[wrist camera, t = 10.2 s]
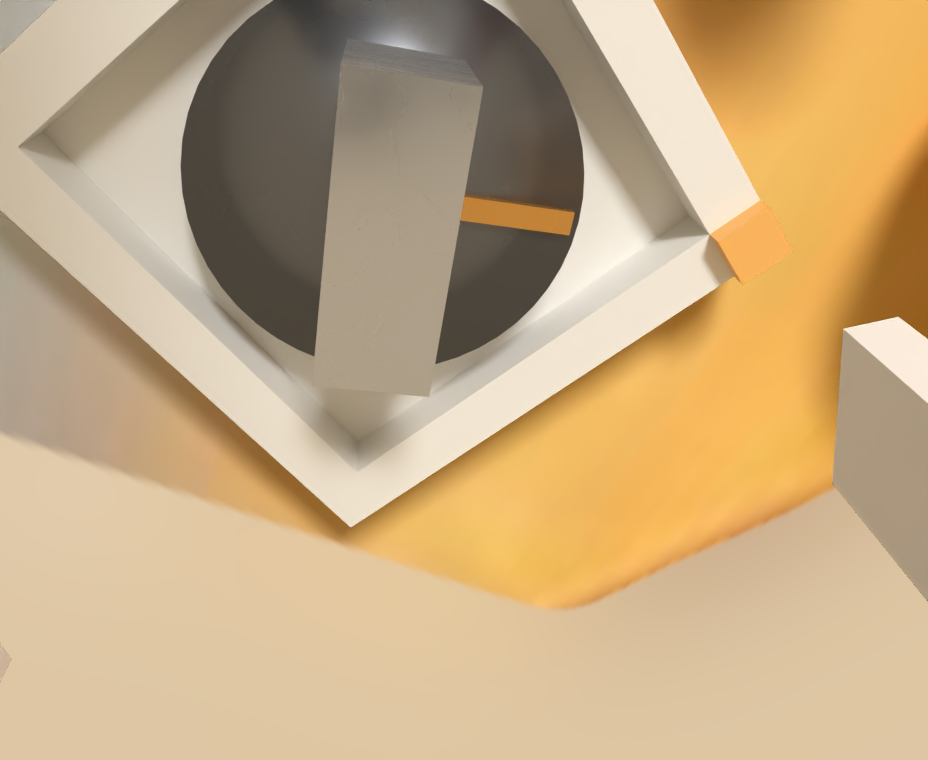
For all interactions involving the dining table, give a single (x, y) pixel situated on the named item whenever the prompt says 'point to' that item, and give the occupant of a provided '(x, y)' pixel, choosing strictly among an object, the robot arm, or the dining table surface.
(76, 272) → the dial housing
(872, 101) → the dining table surface
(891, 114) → the dining table surface
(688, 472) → the dining table surface
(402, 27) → the dial
